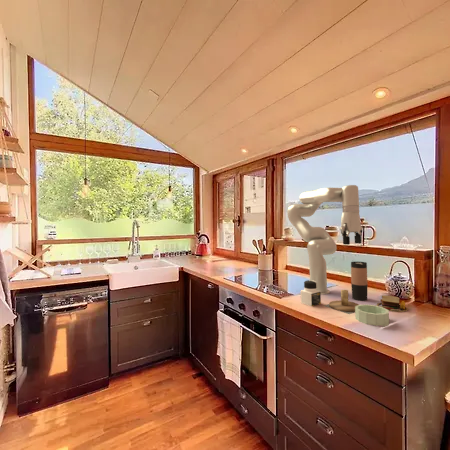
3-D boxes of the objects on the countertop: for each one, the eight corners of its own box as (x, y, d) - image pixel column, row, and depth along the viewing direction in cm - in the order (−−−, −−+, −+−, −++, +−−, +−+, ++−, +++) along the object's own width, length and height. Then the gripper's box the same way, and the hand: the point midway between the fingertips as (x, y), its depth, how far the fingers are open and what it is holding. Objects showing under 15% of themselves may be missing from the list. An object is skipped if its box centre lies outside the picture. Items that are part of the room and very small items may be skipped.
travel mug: (354, 296, 138) (353, 261, 138) (369, 299, 133) (368, 262, 133) (349, 300, 133) (348, 262, 133) (365, 303, 128) (364, 264, 128)
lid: (323, 305, 124) (322, 289, 124) (341, 300, 130) (340, 285, 130) (349, 314, 111) (348, 296, 111) (367, 308, 118) (367, 291, 118)
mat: (323, 306, 124) (323, 305, 124) (341, 301, 130) (341, 300, 130) (349, 315, 111) (349, 314, 111) (367, 309, 118) (367, 308, 118)
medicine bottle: (311, 307, 123) (311, 283, 123) (300, 303, 129) (299, 280, 129) (321, 304, 127) (320, 281, 127) (309, 301, 133) (309, 278, 133)
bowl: (349, 319, 107) (349, 307, 107) (366, 313, 113) (366, 302, 113) (378, 329, 96) (377, 316, 96) (395, 322, 102) (394, 310, 102)
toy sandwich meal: (374, 310, 118) (374, 300, 118) (379, 302, 128) (378, 293, 128) (407, 316, 110) (406, 305, 110) (409, 307, 120) (409, 297, 120)
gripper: (353, 210, 133) (355, 242, 133) (333, 210, 124) (334, 244, 124) (367, 209, 127) (369, 243, 126) (347, 209, 118) (349, 245, 118)
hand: (352, 243), depth 125 cm, fingers open, 9 cm apart
